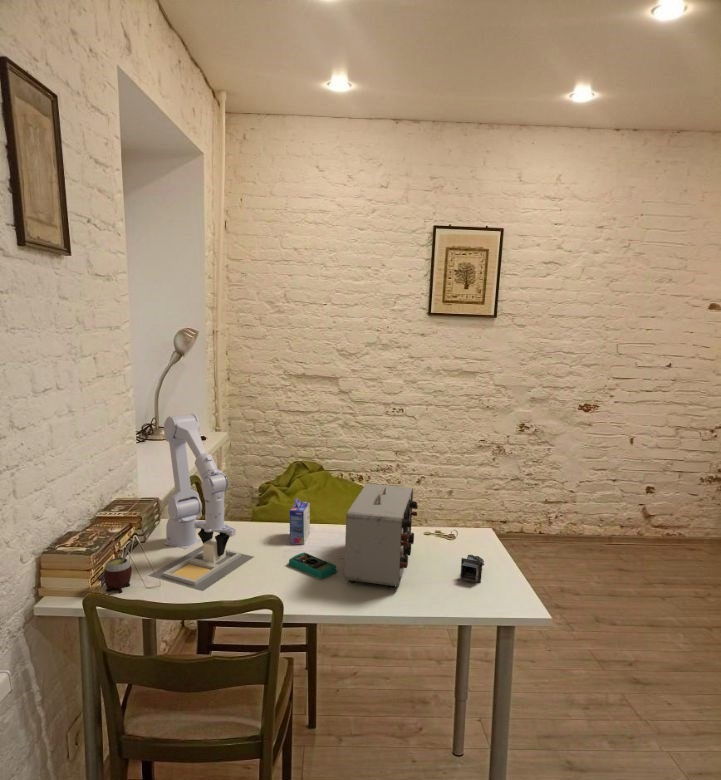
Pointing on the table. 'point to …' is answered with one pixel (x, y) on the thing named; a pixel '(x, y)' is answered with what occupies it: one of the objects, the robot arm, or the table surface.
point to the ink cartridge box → (299, 522)
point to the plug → (212, 551)
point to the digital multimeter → (312, 565)
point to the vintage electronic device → (379, 534)
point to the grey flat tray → (200, 569)
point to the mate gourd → (118, 572)
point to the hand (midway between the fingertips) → (214, 553)
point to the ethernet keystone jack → (471, 568)
